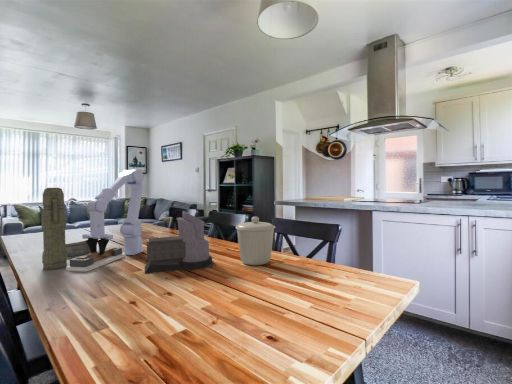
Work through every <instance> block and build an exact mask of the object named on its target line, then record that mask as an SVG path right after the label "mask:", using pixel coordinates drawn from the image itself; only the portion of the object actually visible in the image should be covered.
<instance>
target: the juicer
mask: <svg viewBox="0 0 512 384" xmlns="http://www.w3.org/2000/svg"><path fill="white" fill-rule="evenodd" d="M177 219H178V220H177V221H178V222H177V223H178V226H177V227H178V232H177V233H178V236H176V235H175V236H165V237H164V236H163V237H150V238H148V241H146V260H147V261H148V262H147V263H146V264H145V265H144V275H148V274H156V273H164V272H174V271H182V270H183V271H184V270H185V271H195V270H196V271H197V270H202V269H207V268H212V267H214V266H215V265H216V262H215V261H214V260H213V257H212V255H210V243H209V241H208V240H207V239H206V238H205V221H203V220H202V219H200V218H198V217H196V216H194V215H192V214H190V213H188V212H187V211H185V210H183V211H182V217H178V218H177ZM214 262H215V263H214ZM214 264H215V265H214ZM213 265H214V266H213Z"/></svg>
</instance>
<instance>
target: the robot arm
mask: <svg viewBox="0 0 512 384" xmlns="http://www.w3.org/2000/svg"><path fill="white" fill-rule="evenodd" d="M144 176H145V175H144V174H143V172H142V171H141V170H140V169H123V170H122V171H121V172H120V173H119V175H118V177H117V178H116V179H115V180H114V182H113V183H112V184H111V185H110V186H108V187H105V188H102V189H101V191H100V193H98V194H97V195H95V197H94V198H93V199H90V200H89V201H88V203H87V205H86V209H87V211H88V214H89V227H90V229H89V231H90V233H84V234H82V236H81V237H82V239H83V240H85V241H86V243H87V244H88V246H89V248H90V250H91V253H93V252H97V251H99V254H100V255H103V254H104V253H105V249H106V248H107V245H108V244H109V242H110V240H113V239H114V234H109V233H108V234H107V233H105V211H106V210H107V208H108V204H109V203H110V202H111V201H112V200H113V199H114V198H115V197H116V192H117V191H119V190H120V189H121V188H122V187H123V186H124V185H125V184H126V185H128V186H129V187H130V188H131V192H130V198H129V202H128V210H127V213H126V214H127V216H126V217H125V219H123V221H122V223H121V226H120V227H119V232H120V234H121V235H122V237H123V251H122V253H124V254H125V256H136V255H137V254H140V253H142V252H144V251H145V250H144V249H143V238H142V236H141V234H142V230H143V228H142V221H141V220H140V219H139V215H140V208H141V202H142V197H143V196H142V195H143V189H144V183H143V182H144ZM86 239H87V240H86ZM97 245H98V247H97ZM97 249H98V250H97Z"/></svg>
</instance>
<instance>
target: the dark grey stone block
mask: <svg viewBox="0 0 512 384" xmlns="http://www.w3.org/2000/svg"><path fill="white" fill-rule="evenodd" d="M65 245H66V250H67V258H71V257H73V258H74V257H80V256H84V255H87V254H90V253H91V250H90V248H89V246H88V244H87V243H86V240H81V241H77V242H70V243H65Z"/></svg>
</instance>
